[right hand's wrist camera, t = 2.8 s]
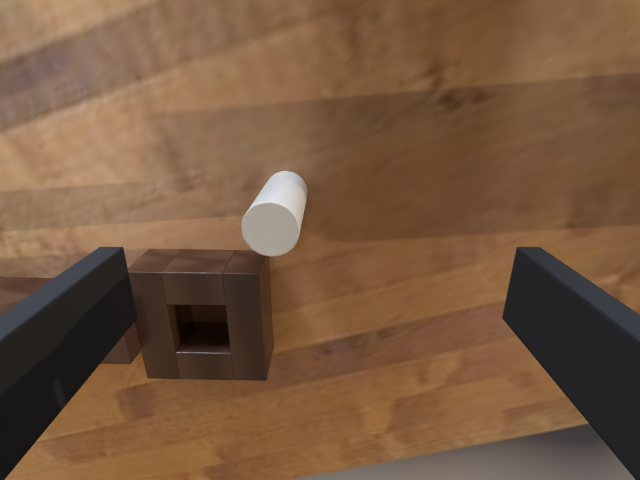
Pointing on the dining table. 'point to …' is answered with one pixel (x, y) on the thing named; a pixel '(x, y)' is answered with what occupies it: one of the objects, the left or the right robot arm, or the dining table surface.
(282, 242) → the peg
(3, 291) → the peg stand
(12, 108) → the dining table surface
